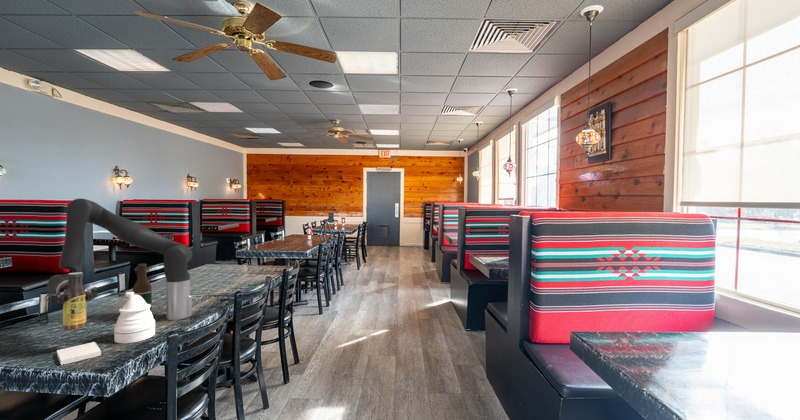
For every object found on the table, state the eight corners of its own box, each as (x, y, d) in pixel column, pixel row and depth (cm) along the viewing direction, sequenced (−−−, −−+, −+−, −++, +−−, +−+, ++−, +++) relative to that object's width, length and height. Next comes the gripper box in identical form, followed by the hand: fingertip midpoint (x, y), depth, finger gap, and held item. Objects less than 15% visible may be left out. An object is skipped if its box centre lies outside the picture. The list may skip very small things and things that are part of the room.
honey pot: (130, 345, 128) (130, 297, 128) (106, 340, 132) (105, 294, 131) (163, 332, 140) (162, 289, 140) (140, 329, 144) (139, 286, 144)
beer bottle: (155, 313, 164) (155, 263, 164) (136, 318, 157) (135, 266, 157) (148, 310, 168) (147, 262, 168) (129, 315, 162) (128, 264, 161)
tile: (94, 341, 127) (100, 350, 119) (94, 346, 127) (101, 356, 119) (56, 350, 120) (60, 360, 112) (56, 355, 120) (60, 366, 112)
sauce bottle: (71, 332, 120) (70, 275, 120) (57, 330, 122) (56, 274, 121) (92, 325, 127) (90, 271, 126) (78, 323, 128) (77, 270, 127)
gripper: (43, 284, 128) (47, 292, 117) (94, 277, 139) (102, 284, 128) (43, 304, 128) (47, 314, 117) (95, 296, 139) (102, 304, 128)
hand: (76, 298), depth 122 cm, fingers closed on sauce bottle, 6 cm apart
